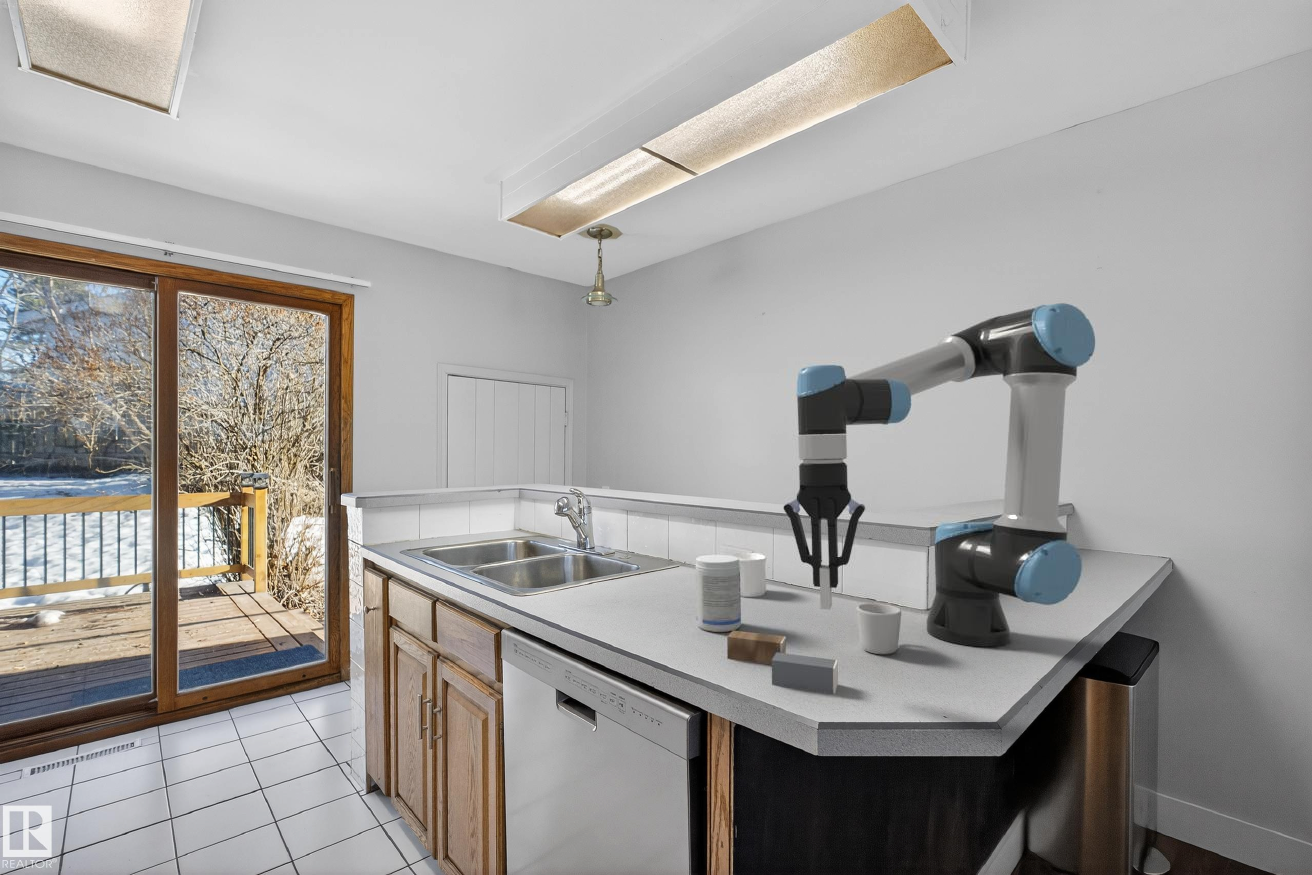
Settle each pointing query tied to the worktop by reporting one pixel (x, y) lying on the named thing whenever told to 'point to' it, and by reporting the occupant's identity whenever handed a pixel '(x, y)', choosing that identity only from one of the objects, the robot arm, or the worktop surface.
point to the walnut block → (754, 646)
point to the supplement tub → (718, 593)
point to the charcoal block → (805, 672)
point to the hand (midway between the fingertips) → (826, 606)
